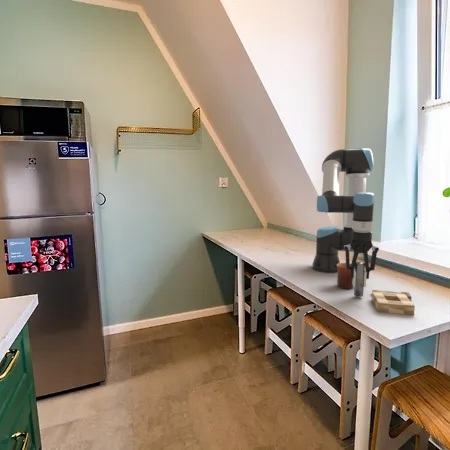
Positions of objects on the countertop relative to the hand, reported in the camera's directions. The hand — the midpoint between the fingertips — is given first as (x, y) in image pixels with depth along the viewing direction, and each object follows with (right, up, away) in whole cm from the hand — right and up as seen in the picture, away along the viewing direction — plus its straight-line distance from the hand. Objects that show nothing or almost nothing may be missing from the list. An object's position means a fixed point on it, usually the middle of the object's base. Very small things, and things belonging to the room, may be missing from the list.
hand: (358, 285), depth 130 cm
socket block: (+9, -7, -9) cm, 14 cm away
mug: (+1, -3, +13) cm, 14 cm away
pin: (0, -4, +1) cm, 4 cm away
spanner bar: (+13, -5, +1) cm, 14 cm away
